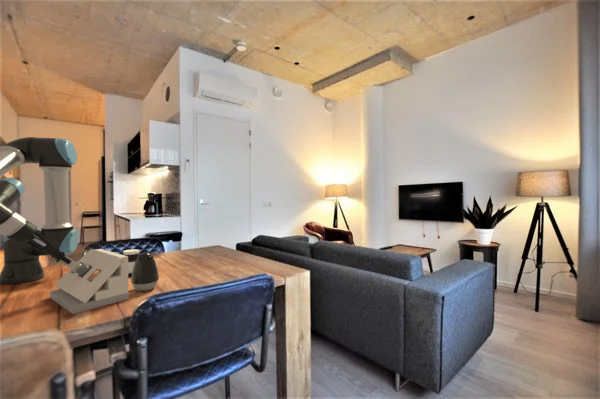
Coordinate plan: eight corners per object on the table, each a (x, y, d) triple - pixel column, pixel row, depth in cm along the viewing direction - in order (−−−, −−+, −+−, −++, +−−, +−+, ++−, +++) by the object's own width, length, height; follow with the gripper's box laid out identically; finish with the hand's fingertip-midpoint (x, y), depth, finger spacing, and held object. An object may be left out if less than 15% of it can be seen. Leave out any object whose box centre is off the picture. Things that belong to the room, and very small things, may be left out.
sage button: (70, 275, 114) (70, 263, 114) (84, 272, 117) (84, 261, 117) (74, 277, 111) (74, 265, 111) (88, 274, 115) (88, 263, 115)
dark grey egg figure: (140, 295, 114) (139, 256, 113) (125, 290, 119) (125, 253, 119) (164, 288, 122) (164, 251, 122) (150, 283, 128) (149, 249, 128)
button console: (49, 297, 110) (49, 254, 110) (101, 286, 124) (101, 247, 124) (72, 314, 96) (72, 263, 95) (128, 299, 109) (128, 255, 109)
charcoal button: (74, 276, 108) (74, 264, 108) (88, 274, 111) (88, 262, 111) (78, 278, 105) (78, 266, 105) (93, 275, 109) (92, 263, 109)
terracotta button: (87, 283, 104) (87, 270, 104) (101, 280, 107) (101, 268, 107) (91, 285, 101) (91, 272, 101) (106, 282, 105) (106, 269, 105)
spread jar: (144, 274, 143) (144, 250, 143) (120, 279, 134) (120, 254, 134) (131, 270, 150) (131, 247, 150) (107, 275, 140) (107, 251, 140)
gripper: (2, 235, 101) (62, 272, 115) (10, 238, 94) (73, 278, 108) (22, 219, 106) (78, 257, 119) (32, 221, 98) (90, 261, 112)
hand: (76, 267), depth 113 cm, fingers closed
